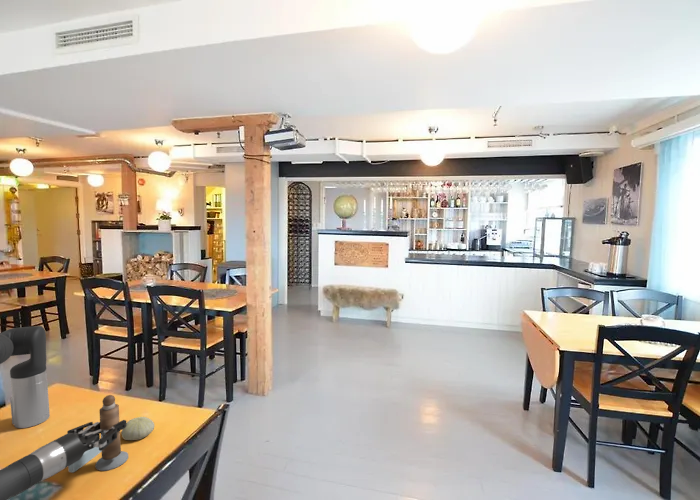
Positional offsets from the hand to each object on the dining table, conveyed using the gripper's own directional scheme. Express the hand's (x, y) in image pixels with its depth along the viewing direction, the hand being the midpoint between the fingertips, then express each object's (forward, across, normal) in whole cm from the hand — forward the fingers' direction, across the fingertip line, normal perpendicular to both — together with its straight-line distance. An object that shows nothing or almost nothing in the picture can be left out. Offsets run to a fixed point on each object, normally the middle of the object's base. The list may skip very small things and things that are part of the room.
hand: (118, 421), depth 106 cm
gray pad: (-2, 0, +11) cm, 11 cm away
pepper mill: (-3, 0, +8) cm, 9 cm away
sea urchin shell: (+10, +5, +11) cm, 16 cm away
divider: (-4, +8, +11) cm, 14 cm away
